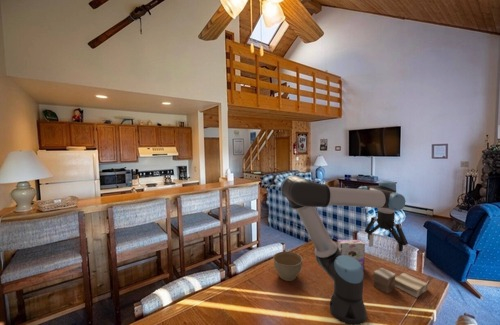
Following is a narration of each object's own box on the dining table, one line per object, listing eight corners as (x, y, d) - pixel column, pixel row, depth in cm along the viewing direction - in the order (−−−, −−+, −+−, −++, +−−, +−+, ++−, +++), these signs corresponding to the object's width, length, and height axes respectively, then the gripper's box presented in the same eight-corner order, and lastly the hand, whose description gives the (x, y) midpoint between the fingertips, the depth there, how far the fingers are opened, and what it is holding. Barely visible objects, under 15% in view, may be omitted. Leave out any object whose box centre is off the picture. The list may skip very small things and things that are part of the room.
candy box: (360, 265, 138) (361, 239, 137) (364, 270, 132) (365, 243, 131) (337, 264, 139) (337, 238, 138) (340, 269, 134) (340, 243, 132)
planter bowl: (308, 279, 124) (308, 261, 123) (284, 288, 117) (283, 268, 116) (291, 265, 139) (291, 248, 138) (268, 272, 132) (268, 254, 131)
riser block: (416, 298, 109) (416, 290, 108) (392, 286, 118) (393, 278, 118) (427, 290, 114) (427, 283, 114) (403, 279, 124) (403, 272, 123)
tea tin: (387, 293, 112) (387, 278, 111) (373, 286, 118) (373, 271, 117) (395, 288, 116) (395, 273, 115) (380, 281, 122) (381, 267, 121)
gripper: (417, 216, 106) (414, 259, 108) (366, 204, 127) (364, 240, 129) (410, 219, 102) (407, 264, 104) (358, 206, 123) (357, 243, 125)
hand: (383, 251), depth 117 cm, fingers open, 13 cm apart
